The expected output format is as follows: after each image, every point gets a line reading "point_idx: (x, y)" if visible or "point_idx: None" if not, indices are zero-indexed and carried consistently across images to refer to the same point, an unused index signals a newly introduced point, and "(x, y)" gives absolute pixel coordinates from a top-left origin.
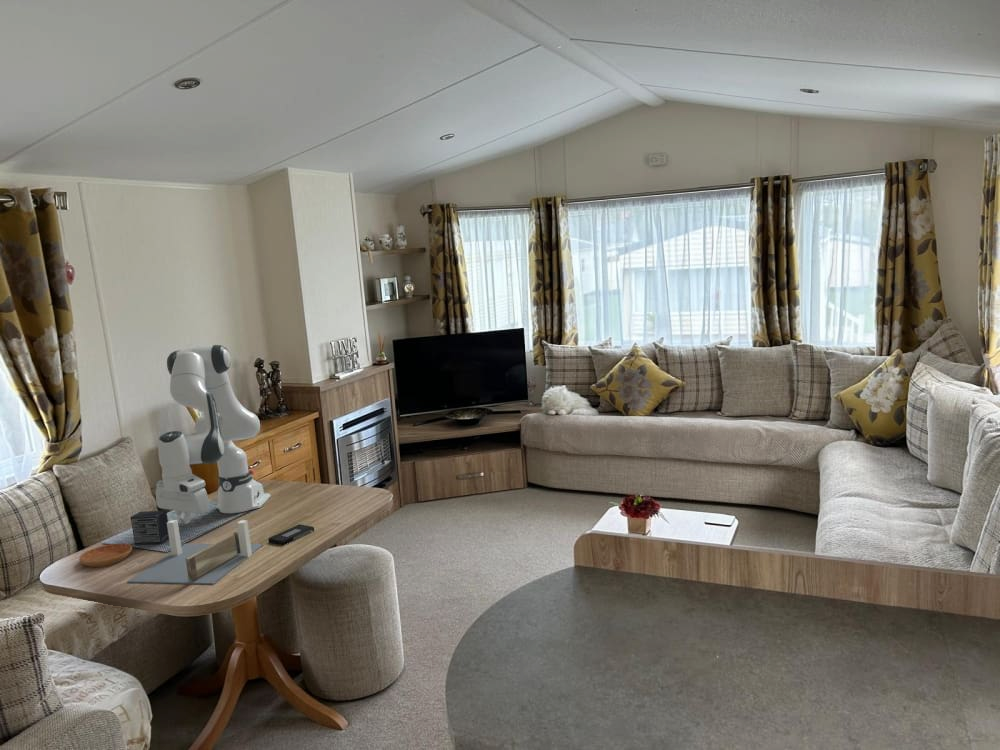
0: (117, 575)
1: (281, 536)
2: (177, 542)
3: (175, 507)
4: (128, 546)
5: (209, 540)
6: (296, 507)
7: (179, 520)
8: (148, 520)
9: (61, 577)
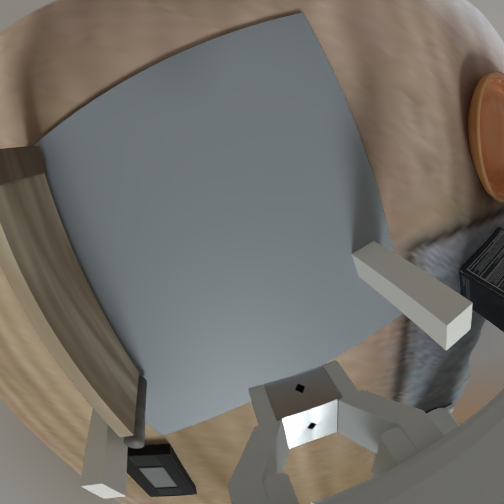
0: (393, 50)
1: (153, 466)
2: (382, 282)
3: (431, 493)
4: (499, 195)
5: (356, 365)
6: (306, 493)
7: (345, 373)
8: None
9: (478, 24)
